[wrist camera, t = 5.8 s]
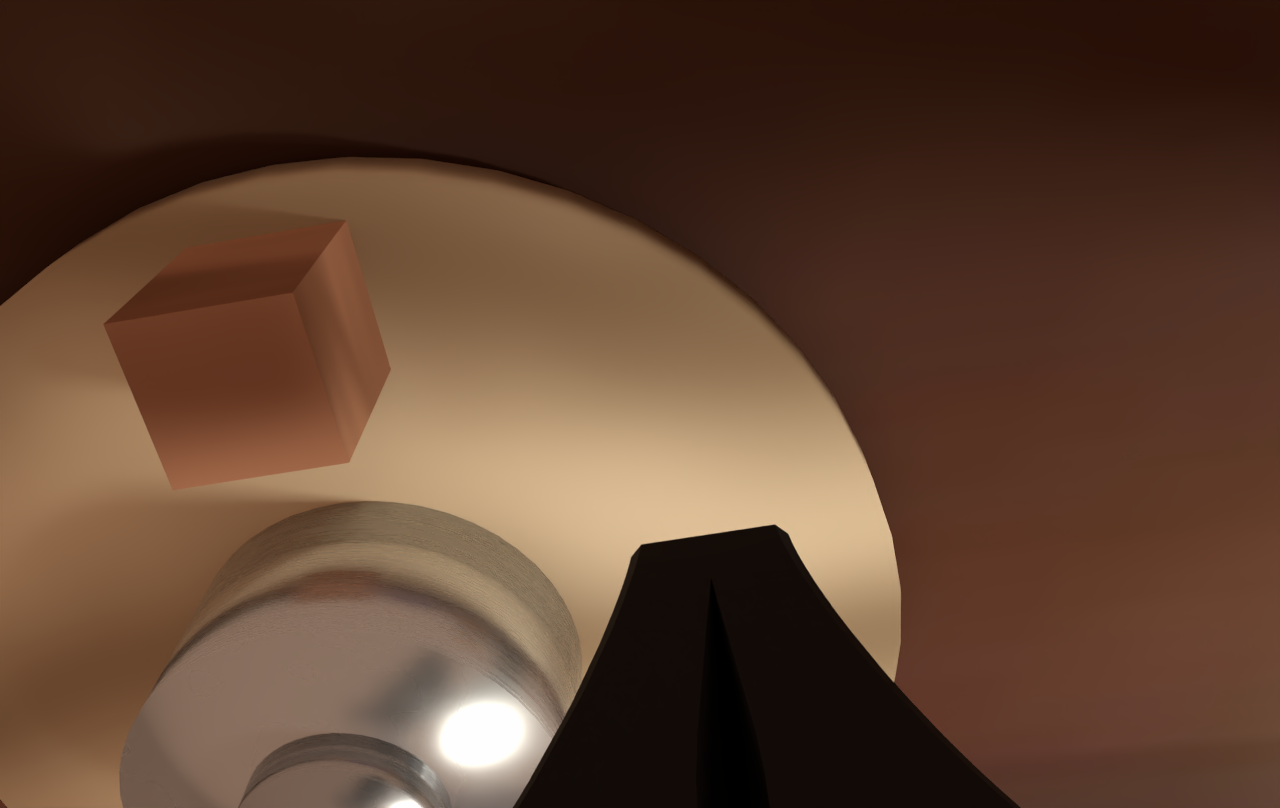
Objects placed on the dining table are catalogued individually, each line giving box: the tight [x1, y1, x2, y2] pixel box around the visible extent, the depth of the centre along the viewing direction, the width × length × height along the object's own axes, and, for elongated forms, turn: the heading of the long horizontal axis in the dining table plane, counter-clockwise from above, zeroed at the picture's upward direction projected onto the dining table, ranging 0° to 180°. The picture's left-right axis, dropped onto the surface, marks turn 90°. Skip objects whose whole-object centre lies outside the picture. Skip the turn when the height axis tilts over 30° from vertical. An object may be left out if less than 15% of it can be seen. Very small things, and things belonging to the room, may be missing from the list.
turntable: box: [0, 157, 901, 808], centre depth 20 cm, size 18×18×4 cm
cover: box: [119, 501, 582, 808], centre depth 19 cm, size 7×7×4 cm
